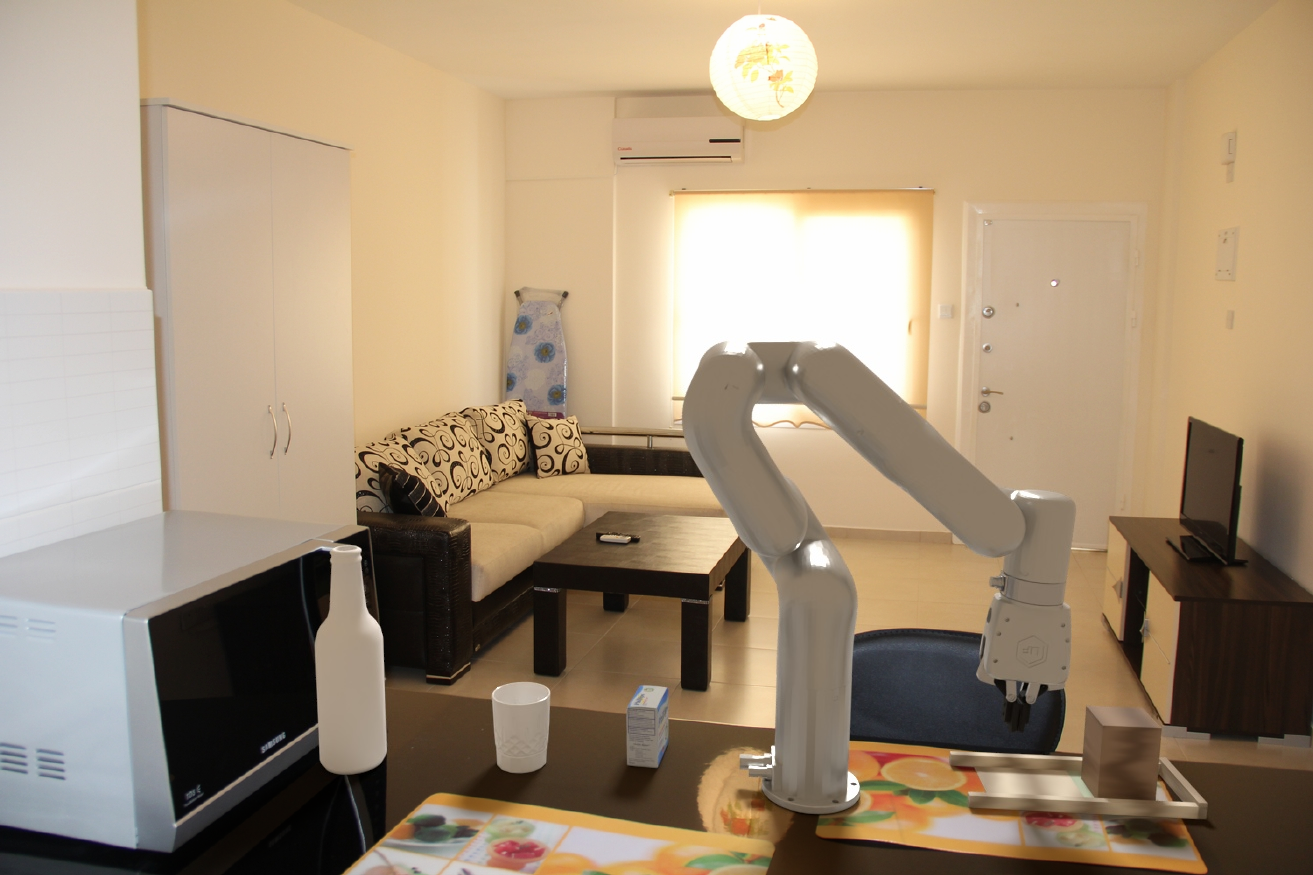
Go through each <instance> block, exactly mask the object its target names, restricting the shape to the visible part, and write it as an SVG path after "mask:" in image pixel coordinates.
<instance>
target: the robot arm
mask: <svg viewBox="0 0 1313 875" xmlns="http://www.w3.org/2000/svg"><path fill="white" fill-rule="evenodd" d="M774 404H775V405H777V404H778V405H779V404H780V405H781V404H783V405H784V404H785V405H786V404H803V405H804V406H805V407H807V408H808V410H810V411H811V412H812V413H813V414H814V415H815V416H817V418H819V420H821V421H822V422H823V423H824V424H825V425H826V426H828V427H829V428H830V429H831V430H832V431H833V432H834V433H836V434H837V436H839V438H840V439H842V440H844V442H846V443H847V444H848V446H850V447H851V448H852V449H853V450H854V451H855V452H857V454H859V455H860V456H861V457H862V458H863V459H864V460H866V461H867V463H869V464H870V465H871V466H872V467H873V468H874V469H875V470H876V471H878V472H879V473H880V474H881V475H882V476H883V477H885V479H887V480H888V481H890V482H891V483H893V484H894V485H896V487H899V488H900V489H901V490H903V492H905V493H907V494H908V495H909V496H910V497H911V498H912V499H914V500H915V501H916V502H917V503H918V504H919V505H920V506H922V508H924V509H925V510H926V511H927V512H928V513H929V514H931V515H932V517H934V518H935V519H936V520H937V521H938V522H940V524H942V525H943V526H944V527H945V528H946V529H947V530H948V531H949V532H950V533H952V534H953V535H954V536H955V537H956V538H957V539H958V540H960V541H961V543H963V544H964V545H965V546H966V547H967V548H968V549H969V550H970V551H971V552H972V553H975V554H977V555H978V556H981V557H985V558H991V559H994V558H995V559H997V558H1002V557H1003V565H1002V569H1001V570H1000V574H999V575H996V576H990V577H989V582H988V583H989V584H988V585H989V587H990V588H995V589H997V590H998V591H999V592H995V593H994V595H993V597H992V599H991V602H990V606H989V609H988V612H987V615H986V619H985V623H984V627H983V630H982V635H981V639H980V640H981V641H980V646H979V647H980V648H979V662H980V663H979V666H978V668H977V670H976V673H975V675H976V677H977V679H978V680H979V681H980V682H983V683H986V684H988V685H993V686H995V687H996V688H997V689H998V691H1000V693H1001V694H1002V695H1003V699H1002V700H1003V701H1002V707H1001V708H1002V709H1001V716H1000V717H1001V721H1002V723H1004V725H1005V727H1006V728H1007V729H1008V731H1009V732H1010V733H1015V732H1017V733H1018V734H1024V733H1025V725H1027V726H1028V725H1029V723H1030V715H1031V710H1032V709H1031V708H1032V705H1033V704H1035V703H1036V700H1037V699H1038V698H1039V697H1040V696H1042V695H1043V694H1045V693H1046V692H1047V691H1057V690H1058V691H1059V690H1063V689H1064V688H1065V687H1066V682H1067V680H1068V679H1069V674H1070V667H1071V659H1072V658H1071V655H1072V611H1071V606H1070V605H1069V604H1068V603H1067V602H1065V601H1064V600H1065V594H1066V588H1067V580H1068V572H1069V566H1070V565H1069V564H1070V558H1071V553H1072V552H1071V551H1072V546H1073V537H1074V530H1075V522H1076V515H1077V505H1076V503H1075V500H1073V499H1072V498H1071V497H1070V496H1068V495H1065V494H1064V493H1061V492H1056V491H1051V490H1046V489H1045V490H1044V489H1032V488H1031V489H1030V488H1029V489H1022V490H1021V489H1014V488H1009V487H1005V486H1004V487H1003V486H998V485H995V483H994V482H993V481H992V480H990V478H988V477H987V476H986V475H985V474H984V473H983V472H981V471H980V470H979V469H978V468H977V467H976V466H975V465H974V464H973V463H971V462H970V461H969V460H968V459H967V458H966V457H964V455H962V453H960V452H959V451H958V450H957V449H956V448H955V447H954V446H953V445H951V443H949V442H948V440H947V439H945V438H944V437H943V435H942V434H940V432H939V431H938V430H937V429H936V428H935V427H934V426H933V425H932V424H931V423H930V422H929V421H928V420H927V419H925V417H923V416H922V414H920V413H919V412H918V411H917V410H916V409H914V407H912V406H911V405H910V404H909V403H908V402H907V401H905V400H904V399H903V398H902V397H901V395H899V394H898V393H896V391H894V390H893V389H892V388H891V387H890V386H889V385H888V384H886V382H884V381H883V380H882V379H881V378H880V377H879V376H878V375H877V374H876V373H875V372H874V371H873V370H871V369H870V368H869V367H868V366H867V365H866V364H865V363H863V362H862V360H860V359H859V358H858V357H857V356H856V355H855V354H853V353H852V352H851V351H850V350H849V349H848V348H846V347H845V346H843V345H842V344H839V343H838V342H835V341H832V340H829V339H827V338H826V339H825V338H808V339H807V338H806V339H785V340H783V339H782V340H781V339H780V340H777V339H776V340H775V339H773V340H771V339H770V340H762V339H761V340H726V341H725V340H724V341H721V342H718V343H716V344H714V345H712V346H711V347H709V349H707V350H706V351H705V353H704V354H703V355H702V357H701V358H700V360H699V363H698V367H697V368H696V370H695V373H694V374H693V376H692V379H691V381H690V383H689V385H688V387H687V390H686V392H685V395H684V398H683V402H682V408H681V427H682V428H681V429H682V434H683V438H684V442H685V444H686V447H687V449H688V452H689V454H690V456H691V458H692V459H693V461H694V464H696V466H697V468H698V470H699V471H700V473H701V474H702V476H703V478H704V479H705V481H706V482H707V484H708V486H709V488H710V489H711V491H712V494H713V496H715V498H716V499H717V501H718V503H719V505H720V506H721V508H722V509H723V510H724V512H725V514H726V515H727V517H728V519H729V520H730V522H731V524H732V525H733V527H734V530H735V532H736V534H737V535H738V538H740V540H741V542H743V544H745V546H746V547H747V548H749V550H751V551H753V553H756V555H757V556H758V558H759V560H761V563H763V565H764V567H765V569H766V570H767V571H768V573H769V574H770V575H771V577H772V579H773V581H774V582H775V585H776V589H777V590H776V591H777V595H778V597H777V598H778V625H777V640H776V641H777V643H776V644H777V645H776V666H775V668H776V670H775V671H776V680H775V681H776V685H775V723H774V724H775V725H774V726H775V727H774V745H771V749H770V750H771V751H770V752H769V753H767V752H764V753H763V755H754V754H750V753H749V754H747V753H739V770H748V777H749V778H761V789H762V791H763V793H764V795H765V796H766V797H767V798H768V799H769V800H770V801H772V803H774V804H776V805H778V806H780V807H781V808H784V809H787V810H790V811H792V812H793V811H794V812H798V813H803V814H809V815H810V814H811V815H812V814H813V815H825V814H828V815H829V814H834V813H838V812H842V811H845V810H847V809H849V808H851V807H853V806H854V805H855V804H856V803H857V801H858V800H859V799H860V796H861V795H860V794H861V786H860V782H859V780H858V779H857V777H856V776H854V774H852V772H850V771H849V763H850V762H849V760H850V759H849V758H850V733H851V730H850V728H851V708H852V682H853V678H852V675H853V673H852V672H853V654H854V652H853V651H854V643H855V642H854V641H855V631H856V626H857V617H858V607H859V606H858V604H859V603H858V602H859V601H858V599H859V598H858V592H857V587H856V583H855V580H854V577H853V575H852V573H851V571H850V569H849V567H848V565H847V563H846V562H845V560H844V558H843V557H842V555H841V553H840V551H839V550H838V548H837V546H836V545H835V543H834V542H833V540H832V539H831V537H830V536H829V534H828V533H827V531H826V530H825V527H824V525H822V524H821V522H820V520H819V519H818V517H817V516H816V514H815V512H814V511H813V509H812V508H811V506H810V505H809V502H808V501H807V500H806V498H805V496H804V494H803V493H802V492H801V491H800V489H799V487H798V486H797V485H796V483H795V482H794V481H793V480H792V479H791V478H790V477H789V476H787V475H785V474H783V473H782V472H781V470H780V469H779V467H778V465H777V464H776V463H775V461H774V460H773V458H772V456H771V455H770V453H769V450H768V448H767V447H766V446H765V444H764V443H763V441H762V439H761V438H760V437H759V435H758V433H757V431H756V429H755V427H754V423H753V411H754V407H755V406H756V405H774ZM1017 682H1019V683H1021V686H1020V689H1019V691H1018V693H1017Z"/></svg>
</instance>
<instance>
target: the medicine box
mask: <svg viewBox="0 0 1313 875" xmlns="http://www.w3.org/2000/svg"><path fill="white" fill-rule="evenodd" d="M669 700H670V699H669V688H668V687H667V686H666V687H665V686H661V685H660V686H658V685H645V684H644V685H639V687H638V688H637V690H636V691H635V694H634V695H633V697H632V698H631V700H630V702H629V704H628V705H627V706H626V714H625V715H626V719H625V720H626V721H625V722H626V765H627V766H632V767H638V768H639V767H641V768H649V769H651V768H652V769H658V768H659V766H660V763H661V761H662V760H663V756H664V754H665V751H666V749H667V746H668V745H669Z"/></svg>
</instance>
